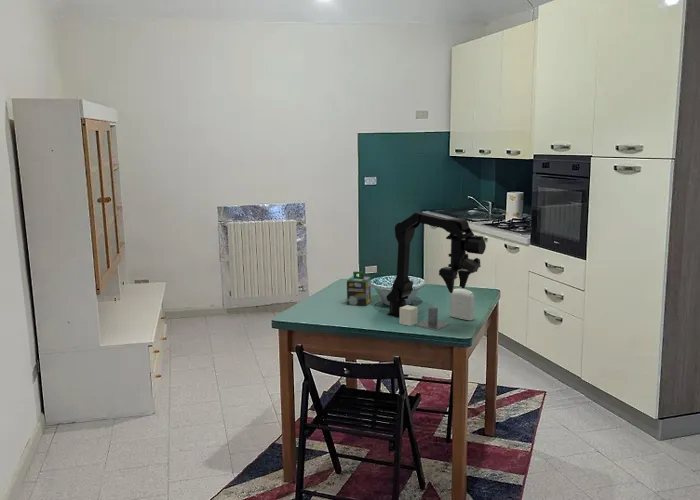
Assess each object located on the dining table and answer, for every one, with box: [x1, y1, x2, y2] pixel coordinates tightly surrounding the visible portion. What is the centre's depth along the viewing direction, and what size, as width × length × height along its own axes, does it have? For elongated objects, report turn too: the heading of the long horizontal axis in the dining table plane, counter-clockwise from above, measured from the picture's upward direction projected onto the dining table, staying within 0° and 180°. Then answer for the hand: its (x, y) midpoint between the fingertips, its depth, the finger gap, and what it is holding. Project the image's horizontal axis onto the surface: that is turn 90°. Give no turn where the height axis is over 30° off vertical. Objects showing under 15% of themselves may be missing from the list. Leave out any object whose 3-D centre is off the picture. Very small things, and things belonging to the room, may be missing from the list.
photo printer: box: [449, 287, 475, 321], centre depth 262 cm, size 10×4×12 cm, turn 47°
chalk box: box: [346, 271, 372, 307], centre depth 286 cm, size 9×9×15 cm
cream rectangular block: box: [398, 304, 419, 327], centre depth 256 cm, size 5×5×7 cm
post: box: [414, 306, 451, 331], centre depth 253 cm, size 10×10×7 cm
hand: (457, 290), depth 249 cm, fingers open, 9 cm apart
